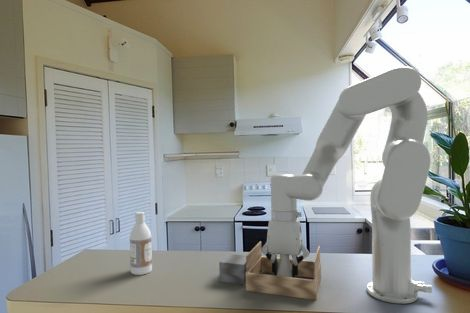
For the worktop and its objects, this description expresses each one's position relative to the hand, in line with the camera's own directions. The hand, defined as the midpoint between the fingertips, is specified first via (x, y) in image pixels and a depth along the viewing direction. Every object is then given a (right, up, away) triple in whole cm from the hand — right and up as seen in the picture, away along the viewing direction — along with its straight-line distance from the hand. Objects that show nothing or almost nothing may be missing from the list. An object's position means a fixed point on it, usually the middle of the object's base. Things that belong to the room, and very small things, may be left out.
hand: (285, 275), depth 96 cm
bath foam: (-46, -3, +12) cm, 48 cm away
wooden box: (0, -2, 0) cm, 2 cm away
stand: (-15, -3, +5) cm, 16 cm away
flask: (0, -3, 0) cm, 3 cm away
